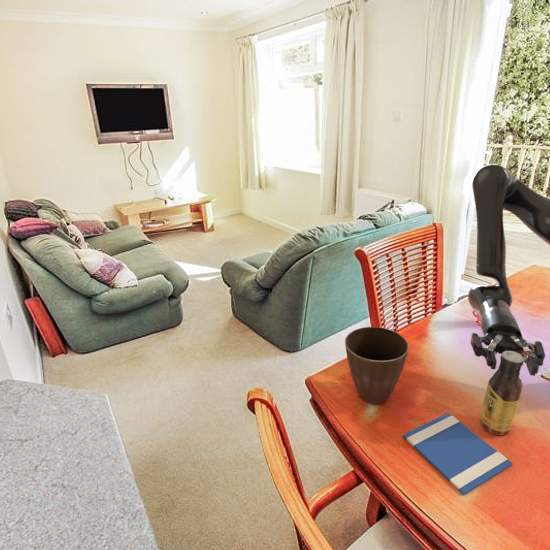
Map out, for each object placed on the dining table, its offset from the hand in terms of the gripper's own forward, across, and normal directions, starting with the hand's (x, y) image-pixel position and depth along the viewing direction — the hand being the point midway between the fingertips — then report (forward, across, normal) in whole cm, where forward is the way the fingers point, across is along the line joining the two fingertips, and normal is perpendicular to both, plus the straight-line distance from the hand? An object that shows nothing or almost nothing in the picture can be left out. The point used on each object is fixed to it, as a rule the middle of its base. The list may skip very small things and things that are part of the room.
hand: (513, 368), depth 76 cm
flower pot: (-5, -28, +18) cm, 34 cm away
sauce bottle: (-3, 0, +18) cm, 18 cm away
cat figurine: (-51, +3, +18) cm, 54 cm away
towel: (+7, -9, +18) cm, 21 cm away
